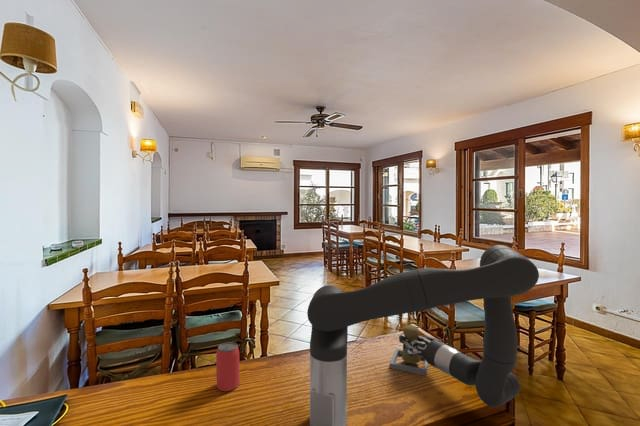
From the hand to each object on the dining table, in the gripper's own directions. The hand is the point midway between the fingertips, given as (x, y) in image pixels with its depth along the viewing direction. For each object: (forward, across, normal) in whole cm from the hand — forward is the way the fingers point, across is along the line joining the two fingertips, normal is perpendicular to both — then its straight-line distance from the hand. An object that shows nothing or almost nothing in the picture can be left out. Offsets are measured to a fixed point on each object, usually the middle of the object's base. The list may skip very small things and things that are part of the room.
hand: (405, 336), depth 108 cm
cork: (-3, 0, +7) cm, 7 cm away
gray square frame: (-3, 0, +8) cm, 8 cm away
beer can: (+12, +58, +8) cm, 59 cm away
